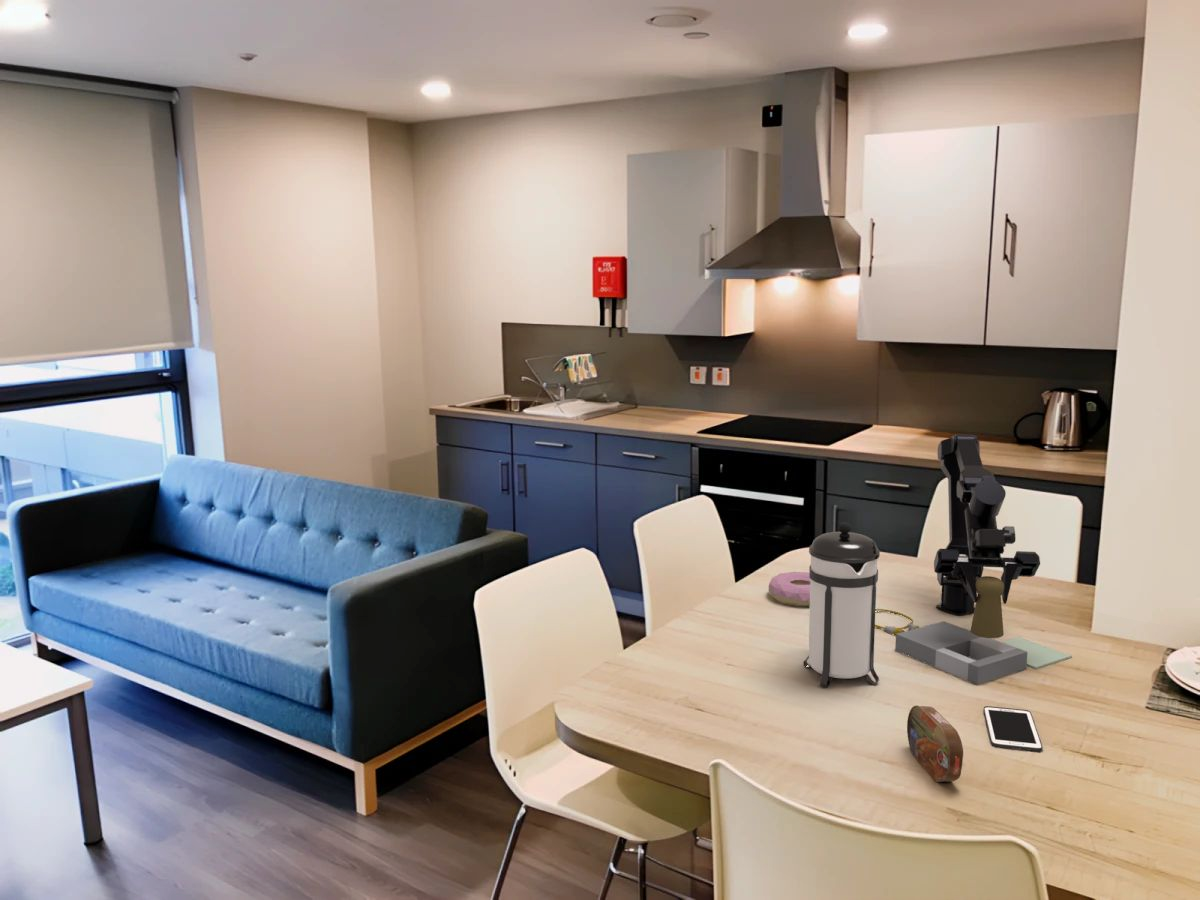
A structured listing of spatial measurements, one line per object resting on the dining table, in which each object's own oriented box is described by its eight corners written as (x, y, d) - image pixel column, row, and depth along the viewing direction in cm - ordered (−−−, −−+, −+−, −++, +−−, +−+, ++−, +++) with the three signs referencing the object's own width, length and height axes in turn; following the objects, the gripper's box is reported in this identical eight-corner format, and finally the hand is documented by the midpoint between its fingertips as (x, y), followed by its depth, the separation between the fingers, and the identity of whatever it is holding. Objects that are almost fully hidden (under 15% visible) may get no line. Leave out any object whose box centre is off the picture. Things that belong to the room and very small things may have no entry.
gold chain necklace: (864, 638, 206) (865, 629, 205) (855, 612, 221) (856, 604, 221) (924, 640, 204) (925, 631, 204) (911, 614, 219) (911, 606, 219)
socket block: (895, 650, 197) (895, 633, 197) (943, 637, 204) (943, 621, 204) (977, 684, 180) (978, 667, 180) (1026, 669, 187) (1027, 651, 186)
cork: (996, 626, 191) (999, 572, 189) (1008, 638, 185) (1012, 582, 183) (965, 626, 191) (968, 573, 189) (976, 638, 185) (980, 583, 183)
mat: (983, 649, 197) (983, 647, 197) (1019, 638, 203) (1019, 636, 203) (1035, 669, 187) (1036, 667, 187) (1071, 657, 192) (1072, 655, 192)
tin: (904, 745, 158) (906, 696, 156) (923, 744, 158) (925, 695, 157) (944, 793, 143) (947, 740, 142) (965, 792, 143) (968, 738, 142)
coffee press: (897, 671, 187) (903, 519, 181) (856, 698, 175) (862, 537, 170) (817, 649, 198) (821, 506, 193) (774, 673, 187) (777, 521, 182)
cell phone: (991, 749, 157) (991, 743, 157) (982, 710, 171) (982, 705, 170) (1043, 754, 155) (1043, 749, 154) (1030, 715, 168) (1030, 709, 168)
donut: (767, 587, 239) (767, 568, 238) (830, 589, 237) (831, 569, 236) (769, 608, 224) (769, 587, 223) (837, 610, 222) (837, 589, 221)
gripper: (939, 508, 189) (945, 581, 181) (1041, 511, 186) (1052, 585, 177) (931, 536, 198) (936, 607, 190) (1028, 539, 195) (1038, 611, 187)
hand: (990, 602), depth 186 cm, fingers closed on cork, 5 cm apart
